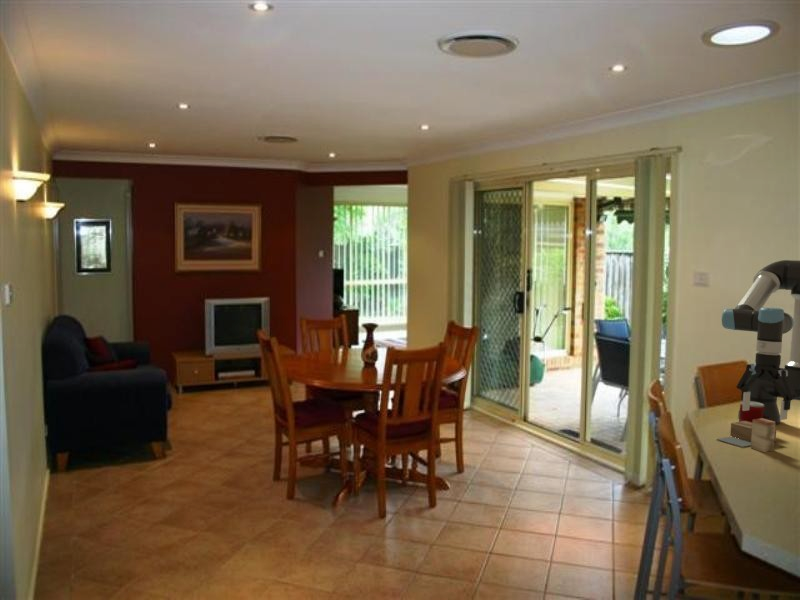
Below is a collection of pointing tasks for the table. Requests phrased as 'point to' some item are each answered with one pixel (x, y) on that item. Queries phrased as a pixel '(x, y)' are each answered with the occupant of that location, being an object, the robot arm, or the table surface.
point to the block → (763, 435)
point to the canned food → (751, 412)
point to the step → (743, 430)
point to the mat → (735, 441)
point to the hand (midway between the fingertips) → (764, 414)
